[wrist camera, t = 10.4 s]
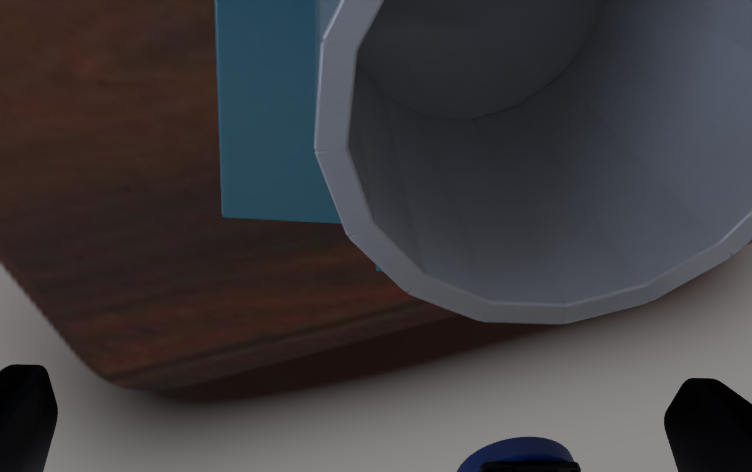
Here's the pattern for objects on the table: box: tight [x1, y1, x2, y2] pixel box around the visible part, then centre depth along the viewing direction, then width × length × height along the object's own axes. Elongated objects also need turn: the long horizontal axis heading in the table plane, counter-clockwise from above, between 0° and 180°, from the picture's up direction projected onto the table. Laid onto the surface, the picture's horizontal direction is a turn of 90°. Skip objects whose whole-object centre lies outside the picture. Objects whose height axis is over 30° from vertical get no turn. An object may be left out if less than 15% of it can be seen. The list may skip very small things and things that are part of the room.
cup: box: [314, 0, 752, 324], centre depth 10 cm, size 6×6×7 cm
